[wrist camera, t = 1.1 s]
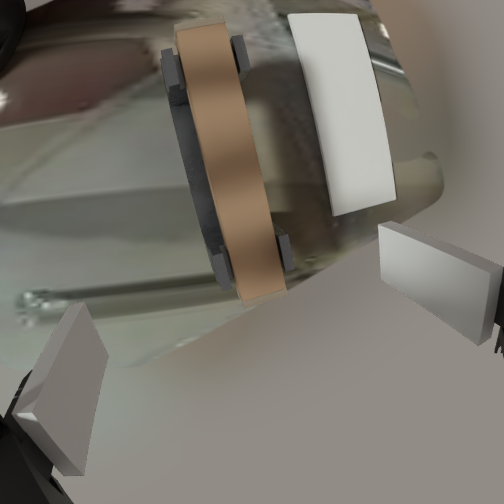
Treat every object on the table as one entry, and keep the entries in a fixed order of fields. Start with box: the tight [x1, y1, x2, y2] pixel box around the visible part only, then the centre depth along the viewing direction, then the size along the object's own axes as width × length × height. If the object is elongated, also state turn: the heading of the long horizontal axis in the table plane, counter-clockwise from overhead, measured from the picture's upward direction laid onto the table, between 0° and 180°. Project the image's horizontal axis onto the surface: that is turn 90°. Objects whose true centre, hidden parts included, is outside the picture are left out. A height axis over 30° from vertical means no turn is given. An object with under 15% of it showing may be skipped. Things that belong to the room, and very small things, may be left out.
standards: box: [160, 35, 295, 291], centre depth 28 cm, size 22×6×10 cm, turn 13°
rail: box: [174, 16, 288, 309], centre depth 23 cm, size 22×4×3 cm, turn 13°
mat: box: [287, 13, 396, 216], centre depth 33 cm, size 24×9×1 cm, turn 13°
